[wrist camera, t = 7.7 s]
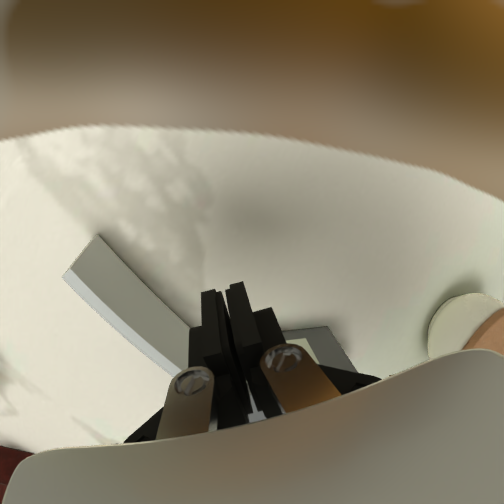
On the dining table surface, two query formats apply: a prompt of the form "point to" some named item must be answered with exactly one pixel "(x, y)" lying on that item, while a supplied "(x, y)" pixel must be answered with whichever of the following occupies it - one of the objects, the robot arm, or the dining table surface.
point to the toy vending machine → (9, 466)
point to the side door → (129, 306)
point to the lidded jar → (467, 325)
